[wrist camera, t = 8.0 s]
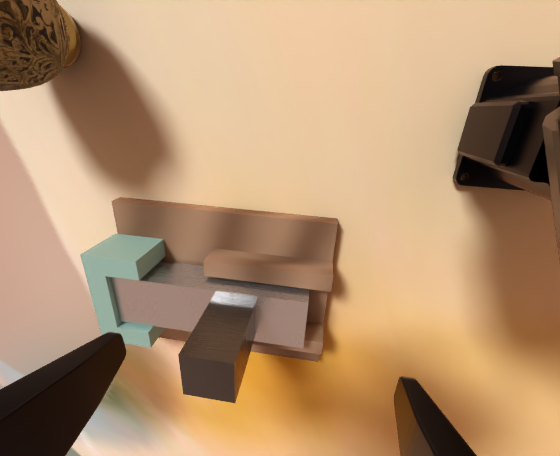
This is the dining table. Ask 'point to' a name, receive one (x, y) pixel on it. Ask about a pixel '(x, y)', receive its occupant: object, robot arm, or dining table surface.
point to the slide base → (243, 253)
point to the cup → (35, 42)
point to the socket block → (128, 265)
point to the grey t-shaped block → (213, 321)
